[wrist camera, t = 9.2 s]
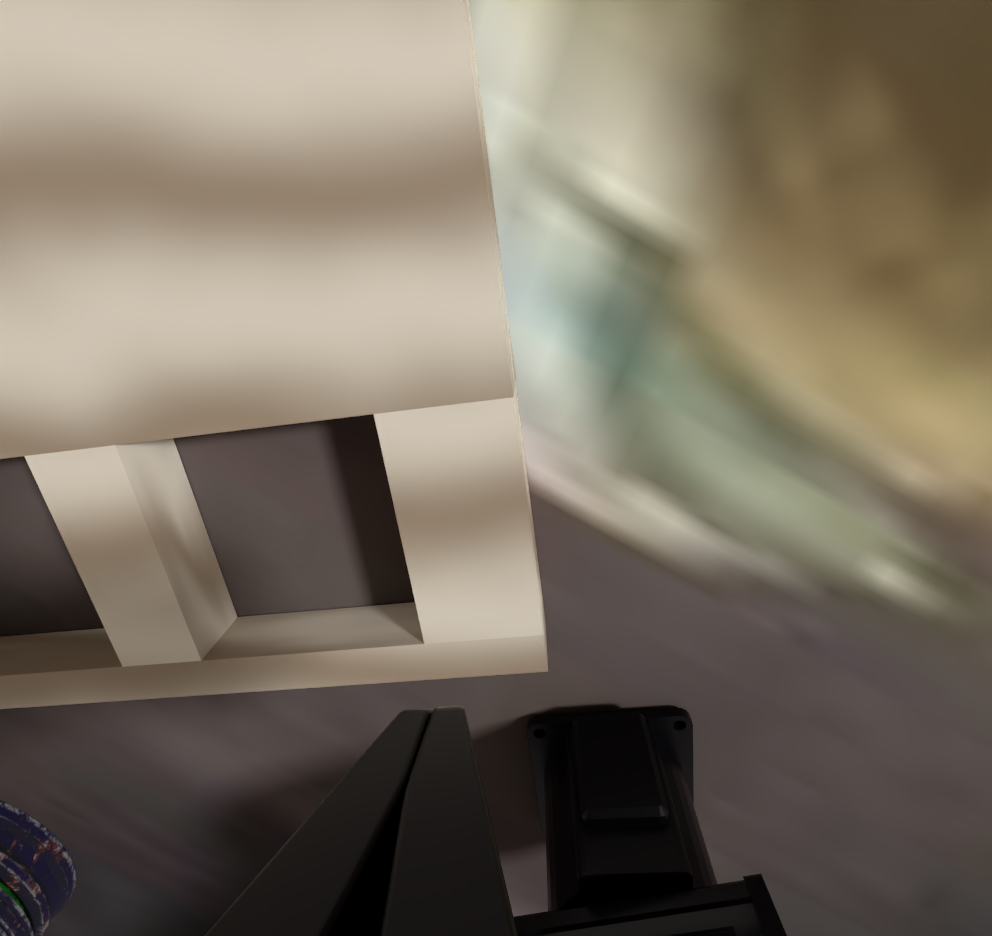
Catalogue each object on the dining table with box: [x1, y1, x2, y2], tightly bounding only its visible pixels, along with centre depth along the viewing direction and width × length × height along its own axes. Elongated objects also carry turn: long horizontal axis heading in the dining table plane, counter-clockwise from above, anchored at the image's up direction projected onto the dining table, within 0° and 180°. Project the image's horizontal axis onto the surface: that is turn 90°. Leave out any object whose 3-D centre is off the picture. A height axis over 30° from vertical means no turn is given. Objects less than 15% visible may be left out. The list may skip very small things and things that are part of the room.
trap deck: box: [0, 0, 548, 709], centre depth 16 cm, size 22×28×4 cm
